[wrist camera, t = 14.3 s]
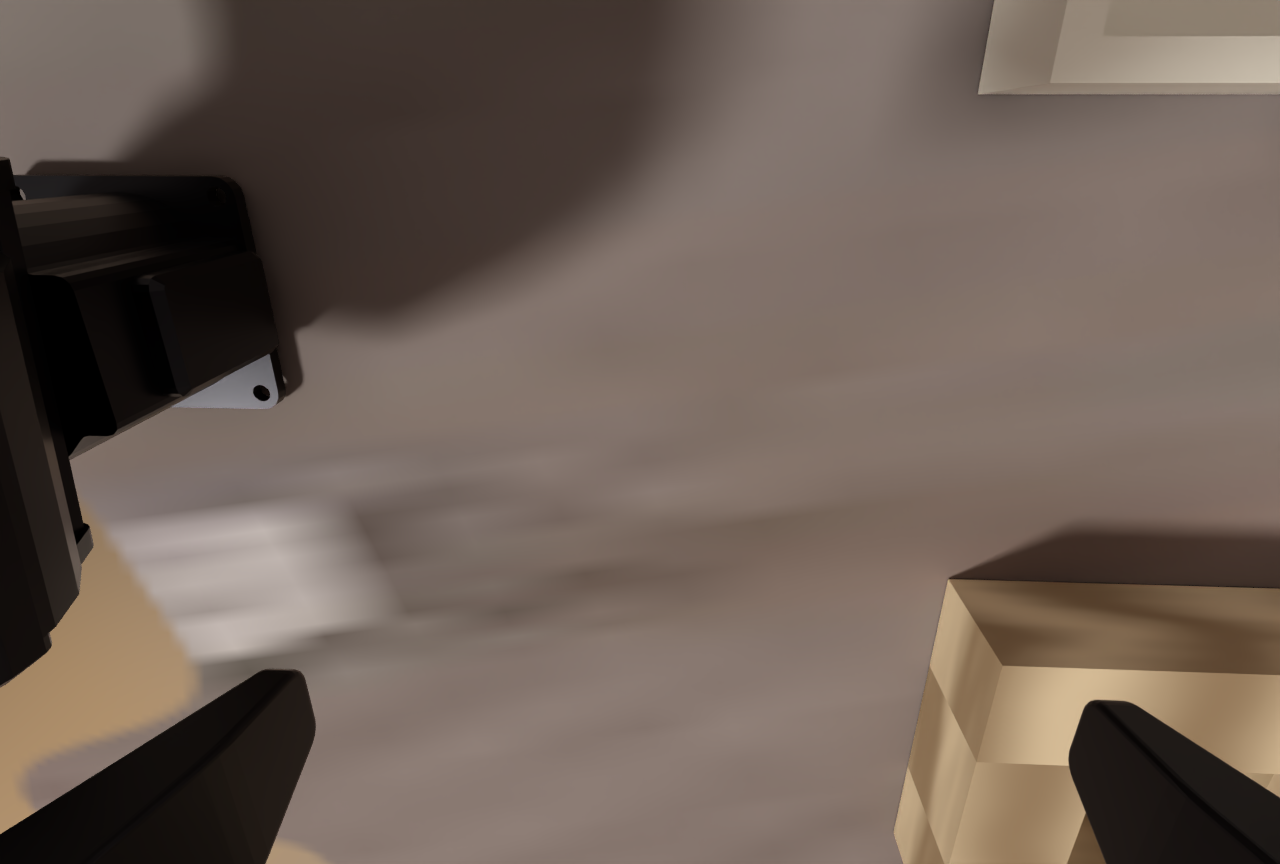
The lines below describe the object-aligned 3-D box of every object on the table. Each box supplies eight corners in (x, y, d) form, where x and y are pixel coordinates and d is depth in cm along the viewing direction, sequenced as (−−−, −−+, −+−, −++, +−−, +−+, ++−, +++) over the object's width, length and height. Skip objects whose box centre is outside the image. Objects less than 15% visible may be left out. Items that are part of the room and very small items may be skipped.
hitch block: (893, 832, 27) (928, 941, 23) (948, 579, 22) (1002, 665, 19) (1206, 846, 26) (1293, 960, 23) (1331, 590, 22) (1464, 681, 18)
